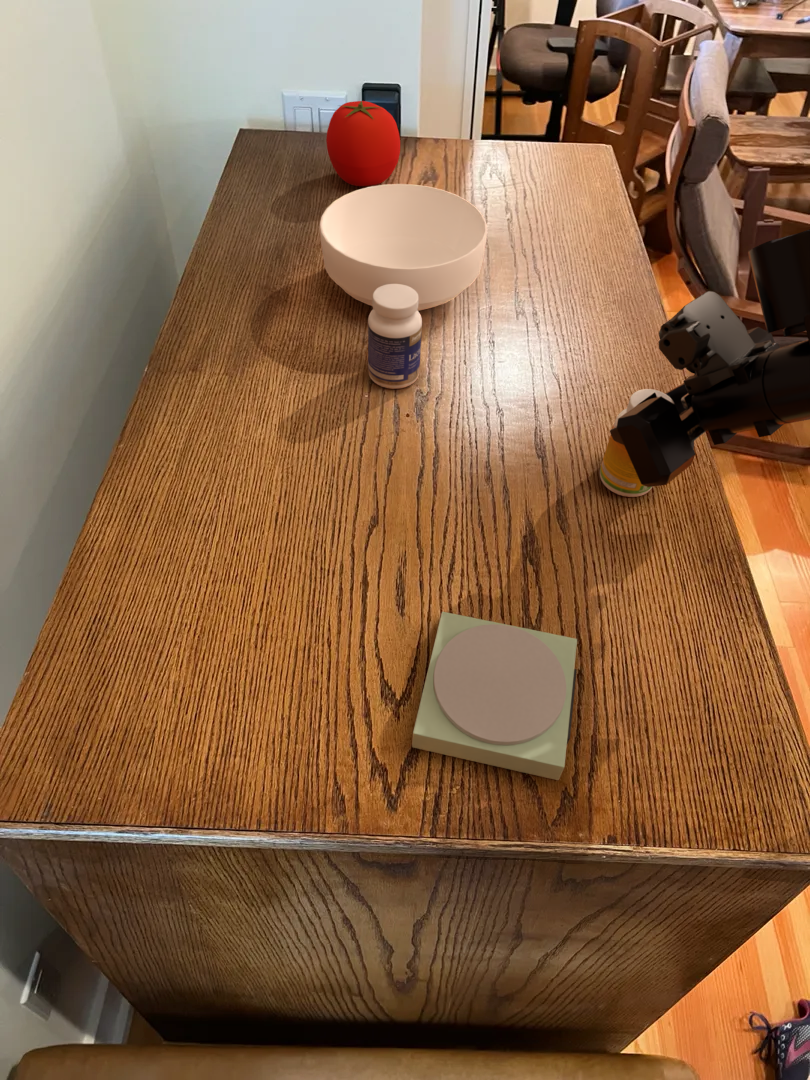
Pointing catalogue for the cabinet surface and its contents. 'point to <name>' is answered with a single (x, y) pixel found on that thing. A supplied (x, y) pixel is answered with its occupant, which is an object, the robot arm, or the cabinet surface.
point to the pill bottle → (394, 336)
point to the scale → (498, 696)
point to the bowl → (403, 242)
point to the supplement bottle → (624, 456)
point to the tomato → (363, 143)
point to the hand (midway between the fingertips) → (631, 421)
